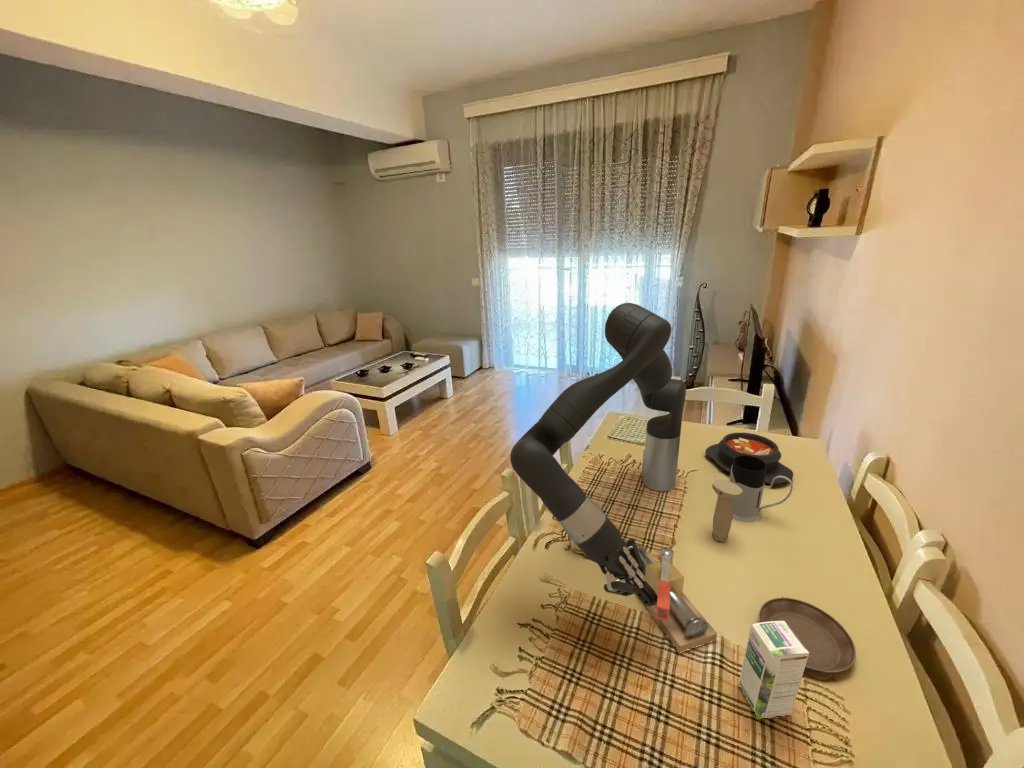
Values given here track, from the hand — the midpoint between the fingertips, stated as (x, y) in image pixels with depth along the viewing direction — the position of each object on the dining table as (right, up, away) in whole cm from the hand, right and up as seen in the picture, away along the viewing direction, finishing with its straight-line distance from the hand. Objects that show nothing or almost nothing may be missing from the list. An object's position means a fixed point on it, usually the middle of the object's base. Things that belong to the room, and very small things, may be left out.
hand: (653, 601), depth 75 cm
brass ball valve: (+6, -5, +12) cm, 14 cm away
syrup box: (+16, -13, -6) cm, 22 cm away
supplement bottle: (-8, -1, +29) cm, 30 cm away
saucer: (+29, -9, +3) cm, 30 cm away
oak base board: (+6, -6, +13) cm, 15 cm away
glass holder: (+38, +4, +36) cm, 52 cm away
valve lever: (+3, +1, +3) cm, 5 cm away
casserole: (+48, +13, +56) cm, 75 cm away
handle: (+26, +1, +28) cm, 39 cm away
